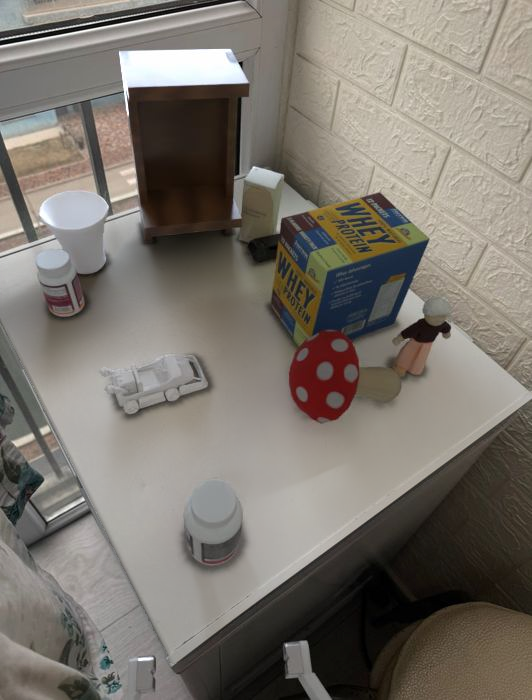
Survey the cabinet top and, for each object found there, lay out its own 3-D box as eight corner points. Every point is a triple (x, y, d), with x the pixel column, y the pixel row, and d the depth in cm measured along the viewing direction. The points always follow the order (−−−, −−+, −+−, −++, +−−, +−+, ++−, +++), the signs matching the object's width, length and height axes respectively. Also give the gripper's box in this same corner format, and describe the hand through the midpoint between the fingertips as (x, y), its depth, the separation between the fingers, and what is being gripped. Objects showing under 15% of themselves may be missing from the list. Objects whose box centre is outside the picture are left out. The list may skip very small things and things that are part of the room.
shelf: (149, 266, 76) (127, 87, 56) (141, 225, 82) (119, 50, 62) (240, 255, 79) (250, 83, 59) (226, 217, 85) (230, 48, 65)
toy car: (210, 390, 63) (210, 369, 59) (113, 421, 59) (107, 400, 55) (194, 354, 66) (193, 332, 63) (101, 381, 62) (95, 359, 59)
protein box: (268, 307, 73) (279, 216, 61) (355, 278, 78) (381, 190, 66) (305, 359, 67) (325, 271, 55) (396, 324, 72) (433, 237, 61)
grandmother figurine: (393, 386, 65) (425, 320, 56) (377, 364, 67) (405, 296, 58) (440, 370, 68) (479, 304, 58) (424, 349, 70) (459, 282, 60)
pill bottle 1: (68, 288, 72) (54, 241, 65) (92, 303, 70) (80, 257, 64) (41, 306, 69) (23, 259, 62) (64, 323, 67) (49, 276, 61)
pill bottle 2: (248, 527, 52) (255, 487, 45) (224, 576, 49) (226, 543, 41) (203, 504, 53) (201, 462, 46) (176, 551, 50) (170, 513, 43)
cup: (48, 252, 76) (29, 194, 68) (110, 239, 79) (99, 183, 71) (59, 291, 71) (41, 234, 63) (125, 276, 74) (115, 219, 66)
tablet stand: (252, 265, 78) (253, 249, 76) (245, 254, 79) (246, 239, 77) (352, 243, 83) (356, 228, 81) (345, 233, 85) (348, 218, 83)
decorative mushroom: (385, 333, 67) (286, 312, 61) (441, 359, 58) (331, 338, 51) (360, 409, 70) (263, 397, 63) (410, 447, 60) (301, 437, 53)
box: (238, 240, 81) (241, 178, 73) (248, 225, 84) (252, 164, 76) (268, 249, 81) (275, 188, 72) (277, 234, 83) (285, 173, 75)
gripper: (475, 981, 22) (393, 624, 30) (-30, 1076, 19) (38, 657, 28) (427, 942, 27) (369, 643, 35) (19, 1014, 24) (64, 673, 33)
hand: (220, 649), depth 32 cm, fingers open, 8 cm apart
